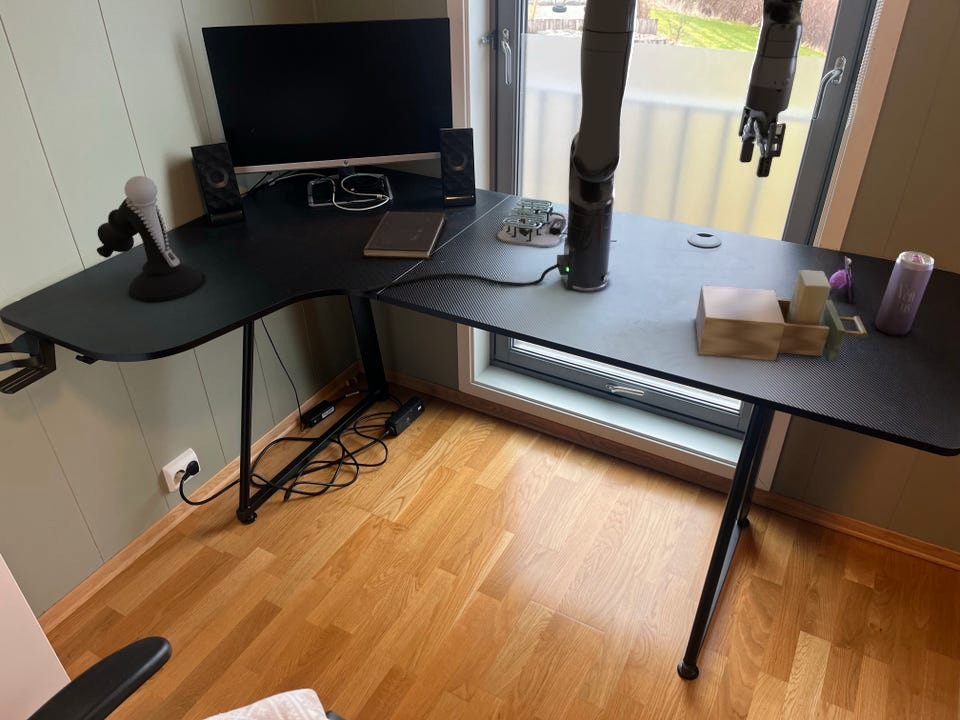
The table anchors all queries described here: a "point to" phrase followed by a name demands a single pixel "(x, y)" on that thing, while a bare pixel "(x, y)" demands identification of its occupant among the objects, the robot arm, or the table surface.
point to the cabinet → (739, 322)
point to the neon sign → (534, 224)
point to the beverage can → (904, 292)
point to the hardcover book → (405, 235)
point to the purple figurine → (842, 278)
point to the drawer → (817, 333)
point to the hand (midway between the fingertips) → (753, 169)
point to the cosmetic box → (808, 298)
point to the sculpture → (147, 245)
